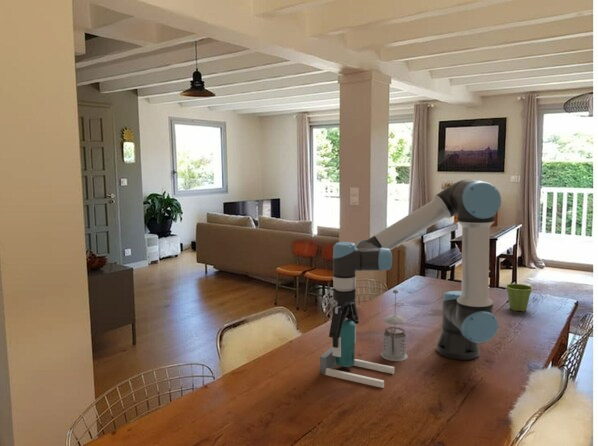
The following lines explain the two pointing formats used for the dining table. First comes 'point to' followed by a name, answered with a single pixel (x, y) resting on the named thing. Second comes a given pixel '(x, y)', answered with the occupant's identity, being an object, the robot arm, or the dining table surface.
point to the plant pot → (518, 296)
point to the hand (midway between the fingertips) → (344, 348)
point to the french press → (394, 338)
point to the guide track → (330, 361)
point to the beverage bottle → (347, 343)
